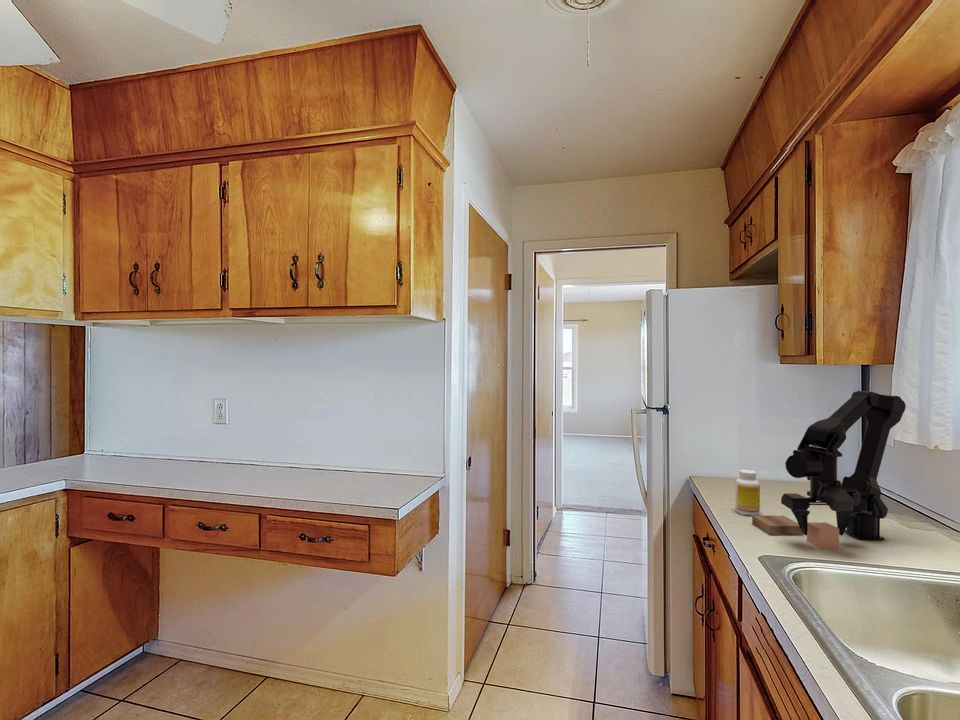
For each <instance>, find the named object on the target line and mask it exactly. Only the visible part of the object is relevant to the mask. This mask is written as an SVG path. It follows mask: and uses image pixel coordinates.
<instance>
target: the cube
mask: <svg viewBox="0 0 960 720" xmlns="http://www.w3.org/2000/svg"><path fill="white" fill-rule="evenodd" d="M806 541H807V542H808V543H810V544H811V545H813V546H815V547H817V548H819V549H840V535H839V528H837V526H834V525H832V524H831V523H828V522H824V521H817V522H816V521H813V522H812V521H808V531H807V535H806Z"/></svg>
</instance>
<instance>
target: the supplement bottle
mask: <svg viewBox="0 0 960 720" xmlns="http://www.w3.org/2000/svg"><path fill="white" fill-rule="evenodd" d="M738 475H739V477H738V478H737V479H736V480H735V512H736V513H738V514H740V515H743V516H751V517H752V516H759V515H760V513H761V511H760V509H761V508H760V507H761V504H760V503H761V501H760V500H761V491H760V489H761V484H760V481H759V480H757V479H756V478H757V472H756V471H755V470H751V469H750V470H748V469H740V470H739V473H738Z"/></svg>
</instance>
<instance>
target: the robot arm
mask: <svg viewBox="0 0 960 720" xmlns="http://www.w3.org/2000/svg"><path fill="white" fill-rule="evenodd" d="M906 408H907V407H906V402H905V401H904V400H902V397H900V395H899V396H898V395H891V394H890V395H889V394H888V395H887V394H880V393H877V392H874V391H868V390H867V391H865V390H856V391H853V393H852V394H851V397H850V398H849V399H848V400H846V401H845V402H844V403H843V404H842V405H841V406H840V407H839V408H838V409H837V410H836V411H834V412H833V413H832V414H831V415H830V416H829V417H827V418H824V419H821V420H817V421H816V422H814V423H812V424H810V425H809V426H808V427H807V429H806V431H805V432H804V434H803V436H802V439H801V440H800V443H799V444H798V446H797V449H794V450H793V451H792V454H791V455H790V456H788V457H787V459H786V460H785V463H784V464H785V470H786V471H787V474H789V475H790V476H791V477H792V478H795V479H802V478H806V480H807V481H809V485H810V486H809V490H808V491H806V495H807V497H805V496H803V495H801V494H799V493H783V494H782V495H781V498H780V502H781V503H780V504H782V505H784V506H785V507H786V508H787V509H789V510H790V511H791V512H792V514H793V515H794V517H795V520H796V521H797V522H796V523H798V524H799V526H800V528H801V531H802V533H803V536H807V531H808V522H809V521H808V518H809V517H808V516H809V515H810V514H811V510H809V508H810V507H811V506H828V507H829V508H830V510H832V511H834V512H835V516H836V527H837V528H839V536H844V534H848V535H850V536H852V537H854V538H856V539H858V540H860V541H861V540H862V541H865V540H867V541H868V540H869V541H870V540H871V541H874V540H875V541H885V537H884V536H881V535H880V532H881V530H880V529H881V520H882V519H885V518H886V517H887V516H888V512H889V509H888V506H886V504H885V503H884V501H883V500H882V499H881V495H882V490H881V488H880V485H879V482H878V480H877V479H878V476H879V471H880V467H881V464H882V462H883V461H882V460H883V457H884V452H885V450H886V446H887V442H888V438H889V435H890V431H891V429H892V428H893V427H895V426H897V424H898V423H900V422H901V420H902V418H903V415H904V413H905V412H906ZM863 416H864V417H865V420H866V421H867V425H866V430H865V432H864V436H863V439H862V440H863V441H862V444H861V447H860V451H859V454H858V458H857V463H856V465H855V469H854V471H853V472H854V473H852V474H851V475H850V476H843V478H842V482H841V480H838V458H840V457H841V458H842V457H843V453H842V452H841V451H840V450H839V449H840V448H841V446H842V445H843V444H844V442H845V441H846V439H847V432H848V430H849V429H850V428H851V427H852V426H854V425H855V423H856V422H858V420H859V419H861V418H862V417H863Z"/></svg>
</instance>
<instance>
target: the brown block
mask: <svg viewBox="0 0 960 720" xmlns="http://www.w3.org/2000/svg"><path fill="white" fill-rule="evenodd" d="M751 517H752V519H751V520H752V521H751V525H753V526H754V525H755V526H754V527H756V528H757V527H758V529H759V528H760V529H759V530H761V531H762V530H763V533H765V532H766V534H767V533H768V534H767V535H769V536H804V534H803V533H802V531H801V528H800V526H799V524H798V522H796V521H795V520H792V519H791V518H789V517H788V516H785V515H756V516H751Z"/></svg>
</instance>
